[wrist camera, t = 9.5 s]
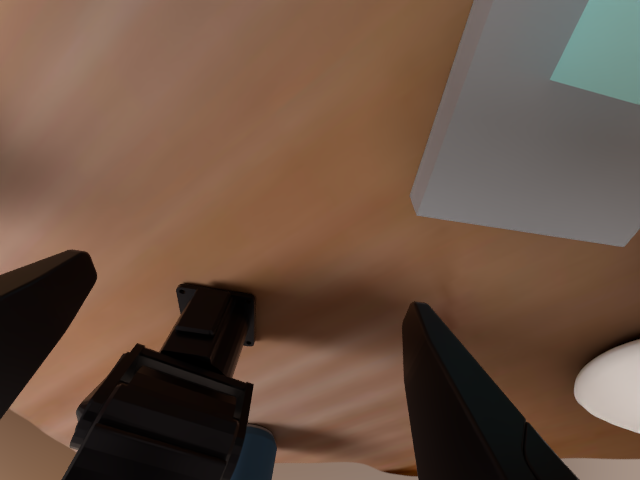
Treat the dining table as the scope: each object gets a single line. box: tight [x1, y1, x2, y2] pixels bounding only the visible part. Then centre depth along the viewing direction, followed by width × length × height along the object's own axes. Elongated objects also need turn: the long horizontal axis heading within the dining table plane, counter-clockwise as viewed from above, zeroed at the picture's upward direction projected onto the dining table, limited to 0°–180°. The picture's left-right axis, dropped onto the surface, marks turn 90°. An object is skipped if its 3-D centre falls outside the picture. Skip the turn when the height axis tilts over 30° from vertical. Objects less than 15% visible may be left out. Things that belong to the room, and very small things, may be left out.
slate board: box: [410, 0, 640, 247], centre depth 14 cm, size 18×12×2 cm, turn 173°
